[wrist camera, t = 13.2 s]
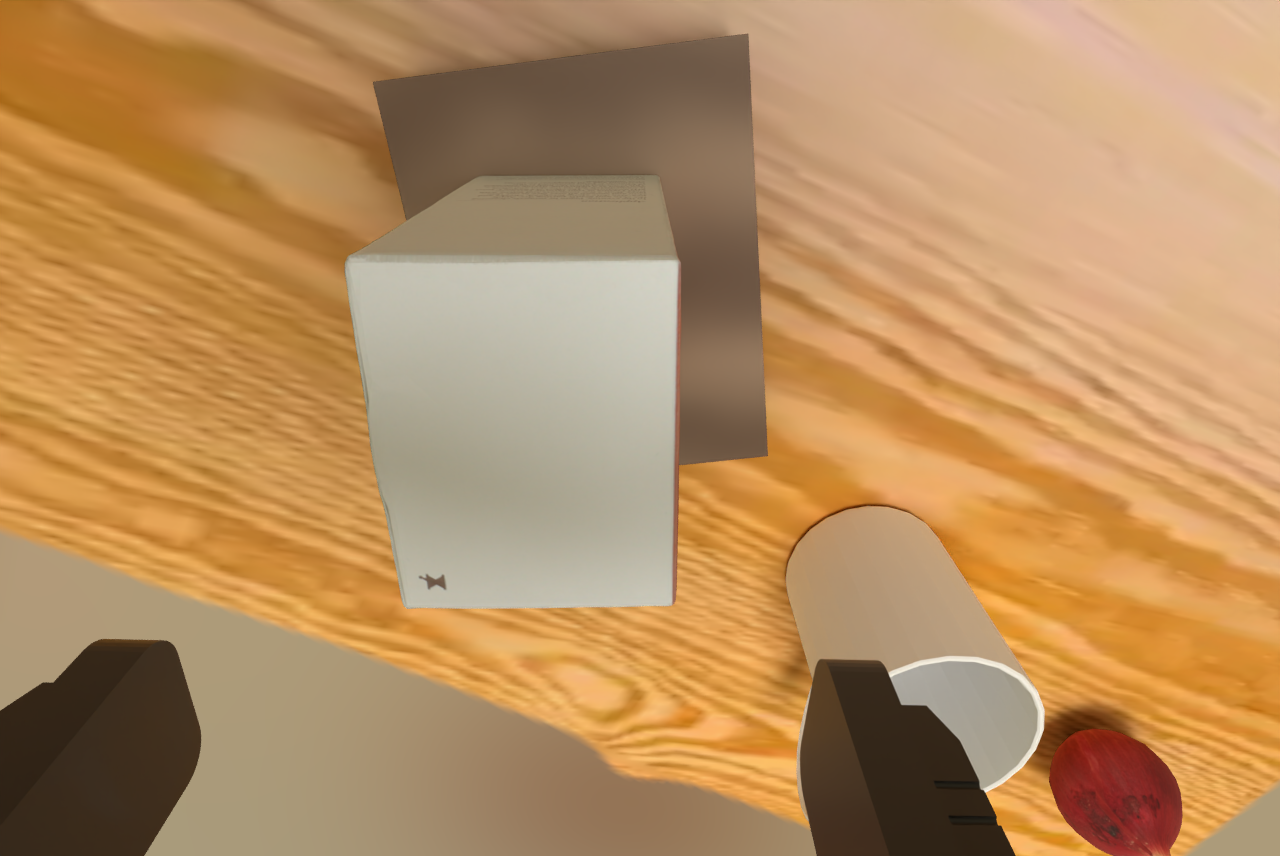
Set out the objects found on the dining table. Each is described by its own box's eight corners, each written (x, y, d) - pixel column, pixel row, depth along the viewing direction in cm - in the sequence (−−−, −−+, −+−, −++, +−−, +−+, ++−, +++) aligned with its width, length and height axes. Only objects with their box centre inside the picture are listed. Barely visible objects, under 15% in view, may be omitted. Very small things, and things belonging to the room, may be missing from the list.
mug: (837, 478, 35) (911, 627, 26) (973, 538, 37) (1090, 699, 28) (716, 657, 40) (741, 839, 31) (841, 704, 42) (902, 891, 32)
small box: (662, 392, 29) (678, 616, 17) (496, 393, 29) (395, 618, 17) (664, 168, 25) (685, 254, 13) (475, 169, 25) (329, 256, 13)
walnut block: (414, 79, 28) (372, 82, 24) (730, 39, 28) (748, 33, 23) (492, 432, 35) (471, 486, 30) (750, 405, 34) (767, 455, 30)
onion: (1004, 754, 43) (1077, 890, 36) (1065, 684, 41) (1156, 815, 34) (1086, 780, 44) (1173, 918, 37) (1150, 714, 42) (1256, 847, 35)
